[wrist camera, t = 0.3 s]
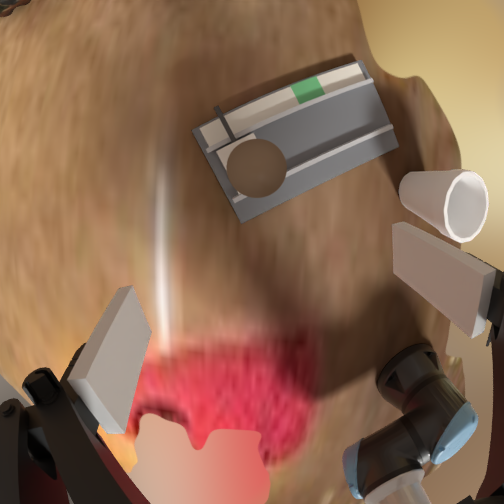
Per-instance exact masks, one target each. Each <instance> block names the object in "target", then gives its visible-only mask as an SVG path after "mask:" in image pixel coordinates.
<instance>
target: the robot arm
mask: <svg viewBox="0 0 504 504" xmlns="http://www.w3.org/2000/svg"><path fill="white" fill-rule="evenodd" d="M392 236H393V273H394V274H395V275H396V276H398V277H399V278H400V279H401V280H403V281H404V282H405V283H406V284H408V285H409V286H410V287H411V288H413V289H414V290H415V291H416V292H418V293H419V294H420V295H421V296H422V297H424V298H425V299H426V300H427V301H428V302H430V303H431V304H432V305H433V306H434V307H435V308H437V309H438V310H439V311H440V312H441V313H443V314H444V315H445V316H446V317H447V318H448V319H449V320H451V321H452V322H453V323H454V324H455V325H456V326H457V327H459V328H460V329H461V330H462V331H463V332H464V333H465V334H467V335H468V336H469V337H470V338H471V339H472V338H474V337H476V336H477V335H479V334H481V333H483V332H484V328H485V324H486V320H487V319H488V320H489V321H490V322H492V326H491V330H490V333H489V337H488V340H487V344H486V346H488V345H489V343H490V342H491V343H492V358H493V419H492V433H491V442H490V451H489V459H488V465H487V472H486V475H485V479H484V481H483V483H482V485H481V487H480V489H479V491H478V493H477V496H476V499H475V500H473V499H472V497H471V496H470V495H469V496H468V497H466V498H465V499H463V500H462V501H460V502H459V503H457V504H504V272H502V271H500V270H498V269H497V268H495V267H493V266H491V265H489V264H488V263H486V262H483V261H482V260H481V259H479V258H478V259H477V257H475V256H473V255H471V254H469V253H466V252H464V251H462V250H460V249H458V248H456V247H454V246H452V245H450V244H449V243H447V242H445V241H443V240H441V239H439V238H437V237H435V236H433V235H431V234H429V233H427V232H425V231H423V230H420V229H418V228H416V227H414V226H412V225H410V224H408V223H406V222H400V223H396V224H392ZM151 333H152V331H151V329H150V327H149V324H148V322H147V320H146V317H145V315H144V313H143V310H142V308H141V305H140V303H139V300H138V298H137V295H136V293H135V290H134V287H133V285H131V286H126V287H122V288H119V289H118V290H117V292H116V294H115V295H114V297H113V299H112V300H111V302H110V303H109V305H108V307H107V308H106V310H105V312H104V313H103V315H102V317H101V319H100V320H99V322H98V324H97V325H96V327H95V329H94V331H93V332H92V334H91V336H90V338H89V339H88V341H87V343H84V344H83V345H82V346H81V347H80V348H79V349H78V350H77V351H76V352H75V354H74V356H73V358H72V360H71V361H70V363H69V365H68V366H69V367H67V369H66V371H65V372H64V374H63V376H62V378H61V380H60V382H59V381H58V380H57V378H56V377H55V375H54V374H53V372H52V371H51V369H50V368H46V367H44V368H39V369H37V370H35V371H33V372H32V373H30V374H29V375H28V376H27V377H26V378H25V380H24V382H23V384H22V389H23V390H24V391H25V393H26V394H27V395H28V397H29V398H30V399H31V401H32V402H33V403H34V405H33V406H30V407H26V408H24V406H23V405H22V404H21V402H20V401H19V400H18V399H14V398H13V399H9V400H7V401H5V402H3V403H2V404H1V405H0V504H69V500H68V495H67V491H68V493H69V495H70V497H71V499H72V501H73V503H74V504H150V502H149V501H148V500H147V499H146V498H145V497H144V495H143V494H142V493H141V492H140V491H139V489H138V488H137V487H136V485H135V484H134V483H133V482H132V480H131V479H130V478H129V476H128V475H127V474H126V472H125V471H124V470H123V468H122V467H121V466H120V464H119V463H118V461H117V460H116V458H115V457H114V456H113V454H112V453H111V451H110V450H109V448H108V447H107V445H106V444H105V442H104V441H103V439H102V437H101V436H100V435H99V434H98V433H97V429H98V426H99V424H100V425H101V427H102V428H103V429H104V430H105V432H106V433H107V434H122V433H125V431H126V427H127V422H128V418H129V414H130V410H131V406H132V402H133V398H134V394H135V390H136V386H137V382H138V379H139V375H140V371H141V368H142V364H143V360H144V357H145V353H146V350H147V346H148V343H149V339H150V336H151ZM378 390H379V392H380V394H381V395H382V397H383V398H384V399H385V400H386V401H388V402H389V403H391V404H392V405H393V406H395V407H396V408H398V409H399V410H401V411H402V413H403V414H404V416H402V417H400V418H399V419H397V420H395V421H394V422H392V423H390V424H389V425H387V426H385V427H384V428H382V429H380V430H378V431H376V432H375V433H373V434H371V435H369V436H367V437H365V438H362V439H360V440H359V441H358V442H356V443H355V444H353V445H351V446H349V447H348V448H347V449H346V450H345V451H344V453H343V458H342V462H343V469H344V474H345V478H346V481H347V483H348V484H349V489H350V491H351V493H352V495H353V496H354V497H355V498H356V499H362V498H363V499H364V502H365V503H366V504H431V502H430V500H429V498H428V496H427V494H426V492H425V490H424V488H423V487H422V485H421V481H422V478H423V476H424V470H423V469H422V467H421V466H423V465H424V464H426V463H427V462H429V461H430V460H431V462H432V463H434V464H440V463H442V462H443V461H446V460H447V459H449V458H450V457H451V456H453V455H454V454H455V453H456V452H457V451H458V450H459V449H460V448H461V447H462V446H463V445H464V444H465V443H466V442H467V441H468V439H469V438H470V437H471V435H472V434H473V432H474V431H475V429H476V426H477V424H478V416H477V413H476V412H475V410H474V409H473V408H472V406H471V403H470V402H468V401H467V400H466V399H465V397H464V396H463V395H462V394H461V393H460V392H459V390H458V389H457V388H456V387H455V386H454V385H453V383H452V382H451V381H450V380H449V379H448V378H447V377H446V375H445V374H444V372H443V369H442V366H441V363H440V360H439V358H438V355H437V353H436V352H435V351H434V350H433V349H432V348H431V347H430V346H429V345H427V344H417V345H413V346H411V347H409V348H407V349H405V350H403V351H402V352H400V353H399V354H397V355H396V356H395V357H394V358H393V359H392V360H391V361H390V362H389V363H388V364H387V365H386V367H385V368H384V369H383V371H382V373H381V374H380V377H379V379H378ZM29 455H30V456H29ZM66 489H67V490H66Z"/></svg>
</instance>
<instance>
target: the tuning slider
mask: <svg viewBox="0 0 504 504" xmlns="http://www.w3.org/2000/svg"><path fill="white" fill-rule="evenodd" d="M214 110H215V111H216V113H217V115H218V117H219V119H220V121H221V123H222V125H223V126H224V128H225V130H226V132H227V134H228V136H229V138H230V140H231V142H232V144H230V145H228V146H226V147H224V148H222V149H220V150H218V151H216V152H217V154H218V156H219V158H220V160H221V162H222V163H223V165H224V167H225V169H226V171H227V175H228V178H229V180H230V183H231V184H232V186H233V187H234V188H235V189H236V190H237V192H238V194H243V195H245V196H247V197H251V198H262V197H266V196H269V195H271V194H273V193H274V192H275V191H277V190H278V189H279V188H280V186H281V185H282V184H283V182H284V180H285V177H286V173H287V164H286V159H285V157H284V155H283V153H282V151H281V150H280V149H279V148H278V147H277V146H276V145H275V144H273V143H272V142H270V141H267V140H264V139H256V137H255V135H254V133H252V134H250V135H248V136H246V137H244V138H242V139H240V140H238V141H237V140H236V138H235V136H234V134H233V132H232V130H231V129H230V127H229V125H228V123H227V121H226V119H225V117H224V115H223V113H222V112H221V110H220V108H219V106H216V107H214Z"/></svg>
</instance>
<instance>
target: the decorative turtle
mask: <svg viewBox="0 0 504 504" xmlns="http://www.w3.org/2000/svg"><path fill="white" fill-rule="evenodd" d="M30 1H31V0H0V17H5V16H9V15H10V14H11V13H12V12H13V9H14V8H16V7H18V6H21V5H26V4H28V3H29V2H30Z"/></svg>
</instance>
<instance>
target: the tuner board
mask: <svg viewBox="0 0 504 504" xmlns="http://www.w3.org/2000/svg"><path fill="white" fill-rule="evenodd" d="M373 82H374V81H373V79H372V78H370V76H369V74H368V72H367V70H366V68H365V66H364V64H363V62H362V60H359V61H356V62H353V63H349V64H346V65H343V66H340V67H337V68H334V69H331V70H328V71H325V72H322V73H319V74H316V75H313V76H311V77H308V78H305V79H303V80H300V81H297V82H295V83H292V84H290V85H287V86H285V87H282V88H280V89H277V90H275V91H272V92H270V93H268V94H265V95H263V96H261V97H258V98H256V99H254V100H252V101H249V102H247V103H245V104H243V105H241V106H239V107H236V108H234V109H232V110H230V111H228V112H226V113H224V114H223V115H224V117H225V119H226V121H227V123H228V125H229V127H230V129H231V130H232V132H233V134H234V136H235V138H236V140H237V141H238V140H240V139H242V138H244V137H246V136H248V135H250V134H252V133H254V135H255V137H256V139H264V140H267V141H270V142H272V143H273V144H275V145H276V146H277V147H278V148H279V149H280V150H281V151H282V153H283V155H284V157H285V159H286V164H287V173H286V177H285V180H284V182H283V184H282V185H281V186H280V188H279V189H278V190H277V191H275V192H274V193H273V194H271V195H269V196H266V197H262V198H251V197H247V196H245V195H243V194H238V192H237V190H236V189H235V188H234V187H233V186H232V184H231V183H230V180H229V178H228V175H227V171H226V169H225V167H224V165H223V163H222V162H221V160H220V158H219V156H218V154H217V152H216V151H218V150H220V149H222V148H224V147H226V146H228V145H230V144H232V142H231V140H230V138H229V136H228V134H227V132H226V130H225V128H224V126H223V125H222V123H221V121H220V119H219V117H216V118H214V119H212V120H210V121H208V122H206V123H204V124H202V125H200V126H198V127H196V128H195V129H193V130H192V132H193V134H194V136H195V138H196V140H197V142H198V144H199V145H200V147H201V149H202V151H203V153H204V155H205V157H206V158H207V160H208V162H209V164H210V166H211V168H212V170H213V172H214V173H215V175H216V177H217V179H218V181H219V183H220V185H221V186H222V188H223V190H224V192H225V194H226V196H227V198H228V200H229V201H230V203H231V205H232V207H233V209H234V211H235V213H236V215H237V216H238V218H239V220H240V222H241V224H242V223H244V222H246V221H248V220H250V219H252V218H254V217H256V216H258V215H260V214H262V213H264V212H266V211H268V210H270V209H272V208H274V207H276V206H278V205H280V204H282V203H284V202H286V201H288V200H290V199H292V198H294V197H296V196H298V195H300V194H302V193H304V192H306V191H308V190H310V189H312V188H314V187H316V186H318V185H320V184H322V183H324V182H326V181H328V180H330V179H332V178H334V177H336V176H338V175H340V174H342V173H344V172H347V171H349V170H351V169H353V168H355V167H357V166H359V165H361V164H363V163H365V162H367V161H370V160H372V159H374V158H376V157H378V156H380V155H382V154H384V153H387V152H389V151H391V150H393V149H395V148H397V147H399V144H398V142H397V139H396V136H395V134H394V131H393V128H394V127H393V125H392V124H391V123H390V121H389V118H388V116H387V113H386V111H385V109H384V106H383V104H382V102H381V99H380V97H379V95H378V93H377V91H376V88H375V86H374V84H373Z"/></svg>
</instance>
